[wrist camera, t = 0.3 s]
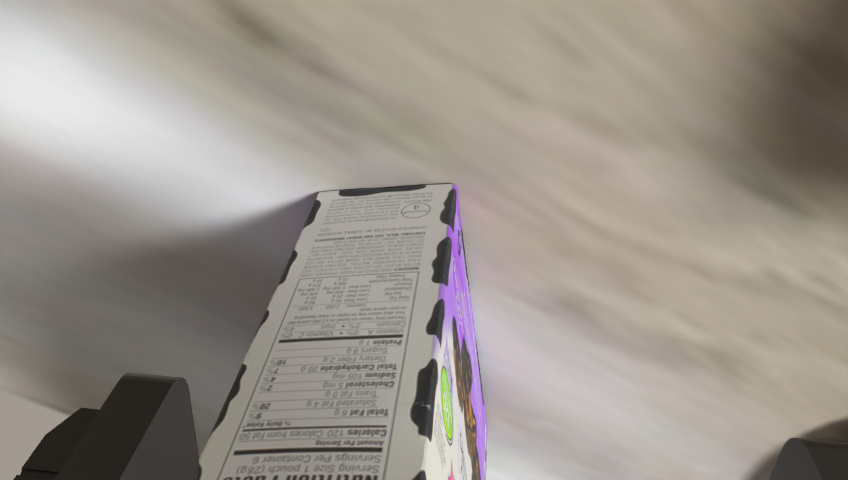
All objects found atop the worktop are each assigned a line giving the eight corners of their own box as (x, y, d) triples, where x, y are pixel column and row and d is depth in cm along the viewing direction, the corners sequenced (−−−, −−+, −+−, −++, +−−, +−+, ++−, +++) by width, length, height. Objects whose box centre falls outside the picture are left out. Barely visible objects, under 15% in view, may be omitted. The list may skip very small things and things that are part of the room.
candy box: (491, 436, 35) (487, 872, 21) (369, 440, 36) (289, 861, 22) (460, 177, 28) (424, 579, 14) (309, 189, 29) (133, 580, 15)
